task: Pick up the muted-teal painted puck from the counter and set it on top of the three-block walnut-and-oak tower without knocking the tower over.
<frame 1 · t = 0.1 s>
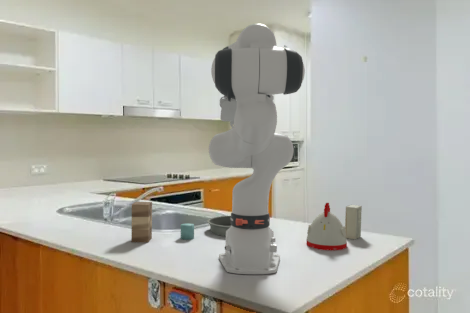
hand: (248, 134, 147), 39 cm above the worktop, tool pointing down, fingers open, 8 cm apart
tower block 3: (141, 215, 146), point 9 cm above the worktop, touching tower block 2
tower block 1: (141, 240, 147), on the worktop, touching tower block 2
cake pan: (237, 232, 164), on the worktop
teal puck: (187, 238, 151), on the worktop
tower block 2: (141, 227, 147), point 4 cm above the worktop, touching tower block 1, tower block 3
skincare box: (352, 238, 155), on the worktop
kitchen timer: (326, 245, 143), on the worktop
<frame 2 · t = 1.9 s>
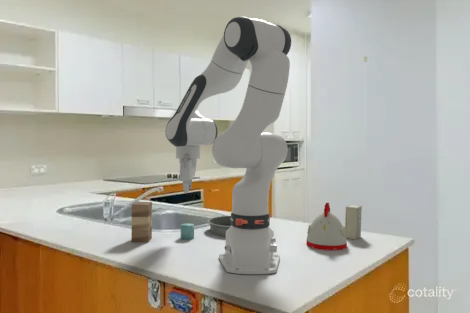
hand: (187, 191, 150), 18 cm above the worktop, tool pointing down, fingers open, 8 cm apart
nothing on the worktop moved.
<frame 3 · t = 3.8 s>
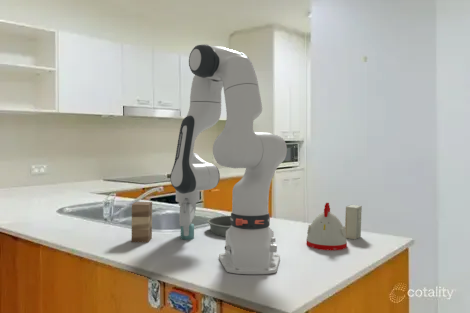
hand: (187, 233, 151), 2 cm above the worktop, tool pointing down, fingers closed on teal puck, 5 cm apart
teal puck: (187, 238, 151), on the worktop, touching gripper
everything else where it was.
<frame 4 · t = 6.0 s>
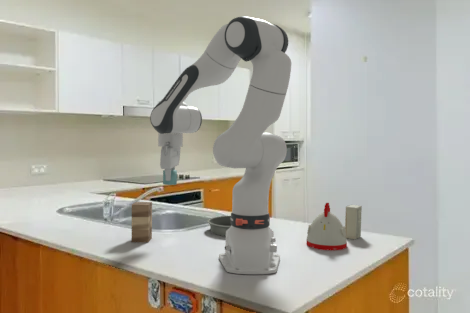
hand: (169, 179, 149), 22 cm above the worktop, tool pointing down, fingers closed on teal puck, 5 cm apart
teal puck: (169, 184, 149), point 20 cm above the worktop, touching gripper
everything else where it was.
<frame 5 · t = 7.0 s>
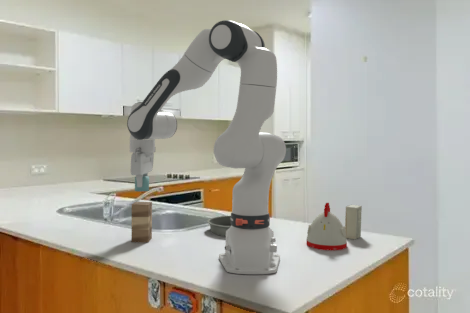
hand: (142, 186, 146), 20 cm above the worktop, tool pointing down, fingers closed on teal puck, 5 cm apart
teal puck: (141, 190, 146), point 18 cm above the worktop, touching gripper
everything else where it was.
when the fingers open (16 cm above the worktop, at t = 8.1 s): teal puck stays where it is, resting on tower block 3.
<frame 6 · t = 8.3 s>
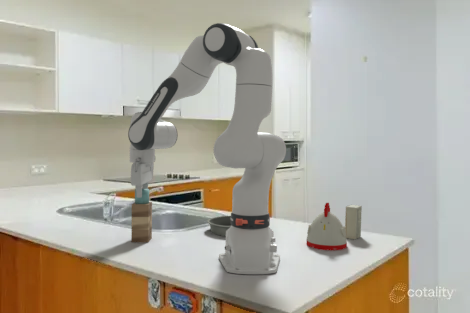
hand: (142, 195, 146), 16 cm above the worktop, tool pointing down, fingers open, 7 cm apart
tower block 3: (141, 215, 146), point 9 cm above the worktop, touching teal puck, tower block 2
teal puck: (142, 203, 146), point 13 cm above the worktop, touching tower block 3
everything else where it was.
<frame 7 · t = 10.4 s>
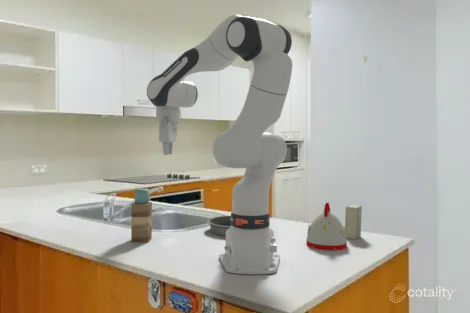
hand: (167, 154, 152), 31 cm above the worktop, tool pointing down, fingers open, 8 cm apart
nothing on the worktop moved.
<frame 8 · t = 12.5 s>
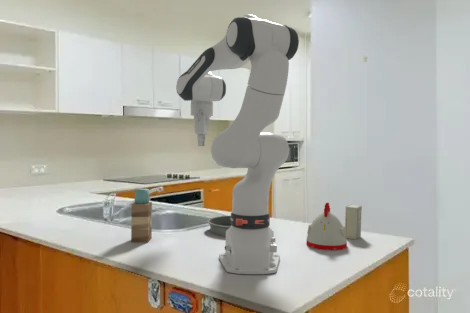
hand: (201, 146, 162), 34 cm above the worktop, tool pointing down, fingers open, 8 cm apart
nothing on the worktop moved.
at the end: teal puck 0.0 cm off-centre on the tower block 3, point 4.5 cm above the tower block 3's base; tower block 3 tilted 0°; tower block 3 point 8.9 cm above the worktop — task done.
